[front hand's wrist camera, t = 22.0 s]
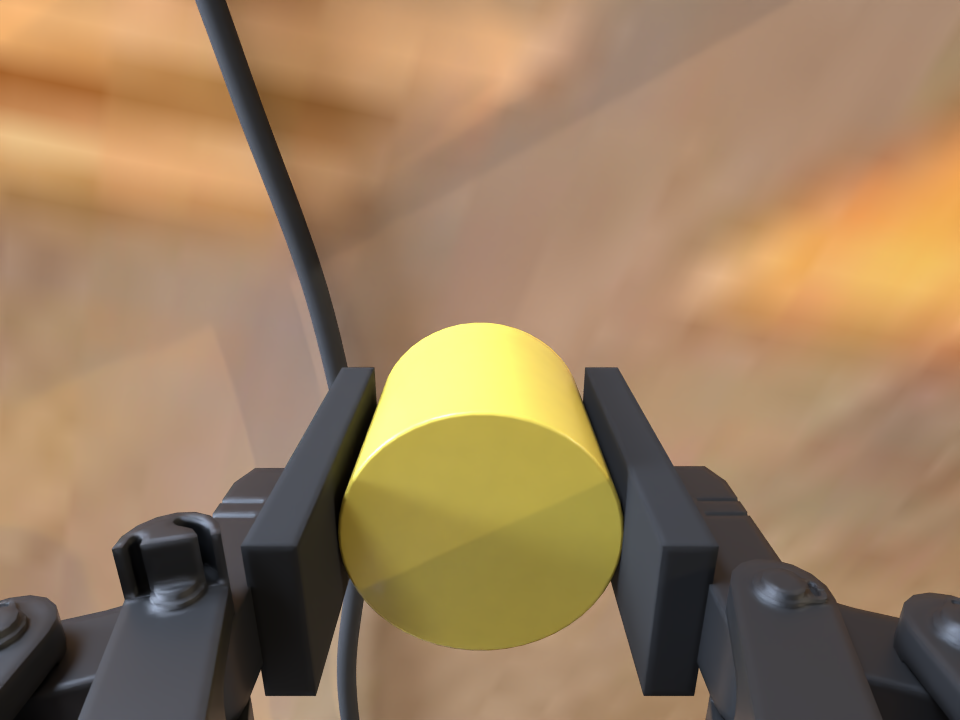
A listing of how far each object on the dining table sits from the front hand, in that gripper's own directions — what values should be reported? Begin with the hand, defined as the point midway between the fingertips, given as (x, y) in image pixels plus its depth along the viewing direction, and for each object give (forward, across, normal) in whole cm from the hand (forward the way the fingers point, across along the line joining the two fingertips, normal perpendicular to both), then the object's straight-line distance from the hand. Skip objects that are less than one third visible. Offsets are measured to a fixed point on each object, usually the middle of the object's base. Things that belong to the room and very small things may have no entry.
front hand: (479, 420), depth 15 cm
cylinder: (0, 0, 0) cm, 0 cm away
